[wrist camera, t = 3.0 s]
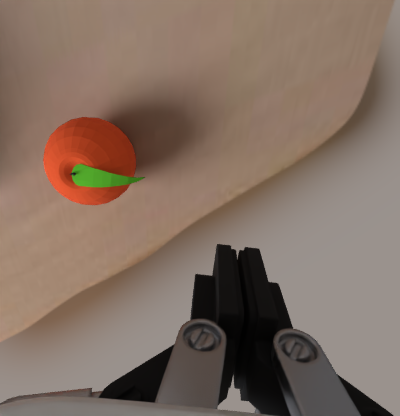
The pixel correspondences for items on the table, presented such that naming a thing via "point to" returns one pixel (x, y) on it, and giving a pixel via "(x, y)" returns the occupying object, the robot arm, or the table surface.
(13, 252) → the table surface
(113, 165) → the clementine
